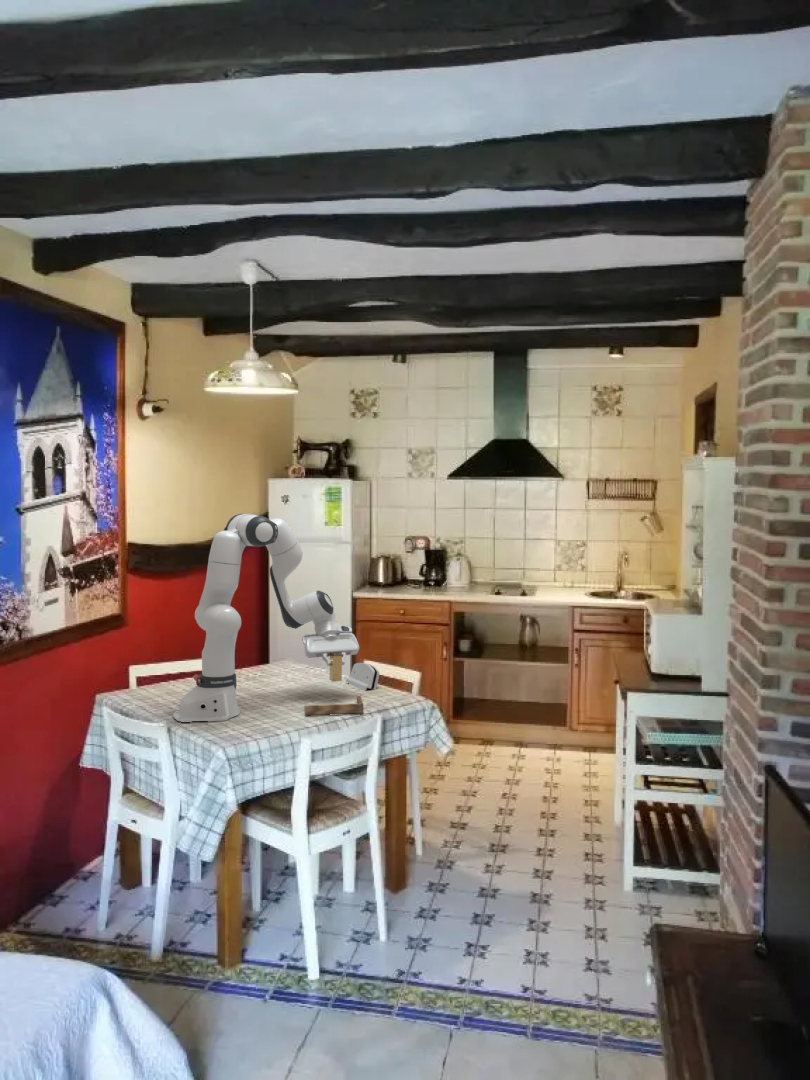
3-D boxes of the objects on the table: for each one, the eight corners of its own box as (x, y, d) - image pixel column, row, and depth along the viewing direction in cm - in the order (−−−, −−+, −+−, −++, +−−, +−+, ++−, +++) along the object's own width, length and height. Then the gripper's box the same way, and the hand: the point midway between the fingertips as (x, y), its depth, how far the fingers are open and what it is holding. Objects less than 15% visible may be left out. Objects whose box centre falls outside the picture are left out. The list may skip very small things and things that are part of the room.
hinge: (344, 682, 349) (351, 658, 350) (354, 685, 351) (361, 661, 352) (365, 691, 335) (372, 666, 336) (375, 693, 337) (382, 668, 338)
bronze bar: (332, 681, 316) (332, 654, 316) (329, 679, 320) (329, 652, 319) (341, 680, 318) (341, 653, 317) (338, 678, 321) (338, 651, 320)
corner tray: (305, 716, 299) (305, 706, 299) (304, 707, 311) (304, 697, 311) (363, 714, 302) (363, 704, 302) (360, 705, 314) (360, 695, 314)
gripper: (302, 630, 320) (310, 661, 311) (355, 627, 328) (364, 657, 320) (299, 640, 324) (307, 671, 316) (351, 637, 332) (359, 667, 324)
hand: (336, 664), depth 318 cm, fingers closed on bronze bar, 3 cm apart
